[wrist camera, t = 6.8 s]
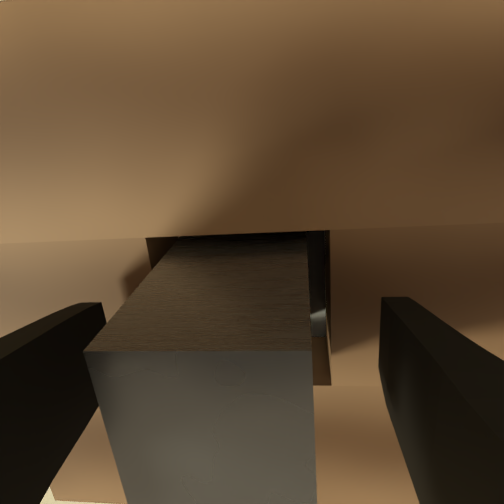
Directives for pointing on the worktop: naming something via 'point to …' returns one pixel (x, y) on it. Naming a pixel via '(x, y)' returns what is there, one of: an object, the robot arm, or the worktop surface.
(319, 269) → the worktop surface
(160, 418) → the square bit
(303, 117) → the plate
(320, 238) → the worktop surface
